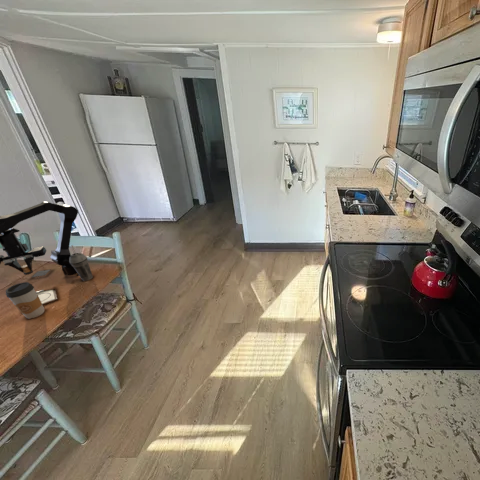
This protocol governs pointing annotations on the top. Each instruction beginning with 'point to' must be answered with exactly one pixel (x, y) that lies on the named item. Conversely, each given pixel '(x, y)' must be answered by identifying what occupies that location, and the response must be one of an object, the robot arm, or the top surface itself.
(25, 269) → the stamp
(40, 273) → the ink pad
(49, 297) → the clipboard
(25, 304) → the coffee cup
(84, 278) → the beverage cup
